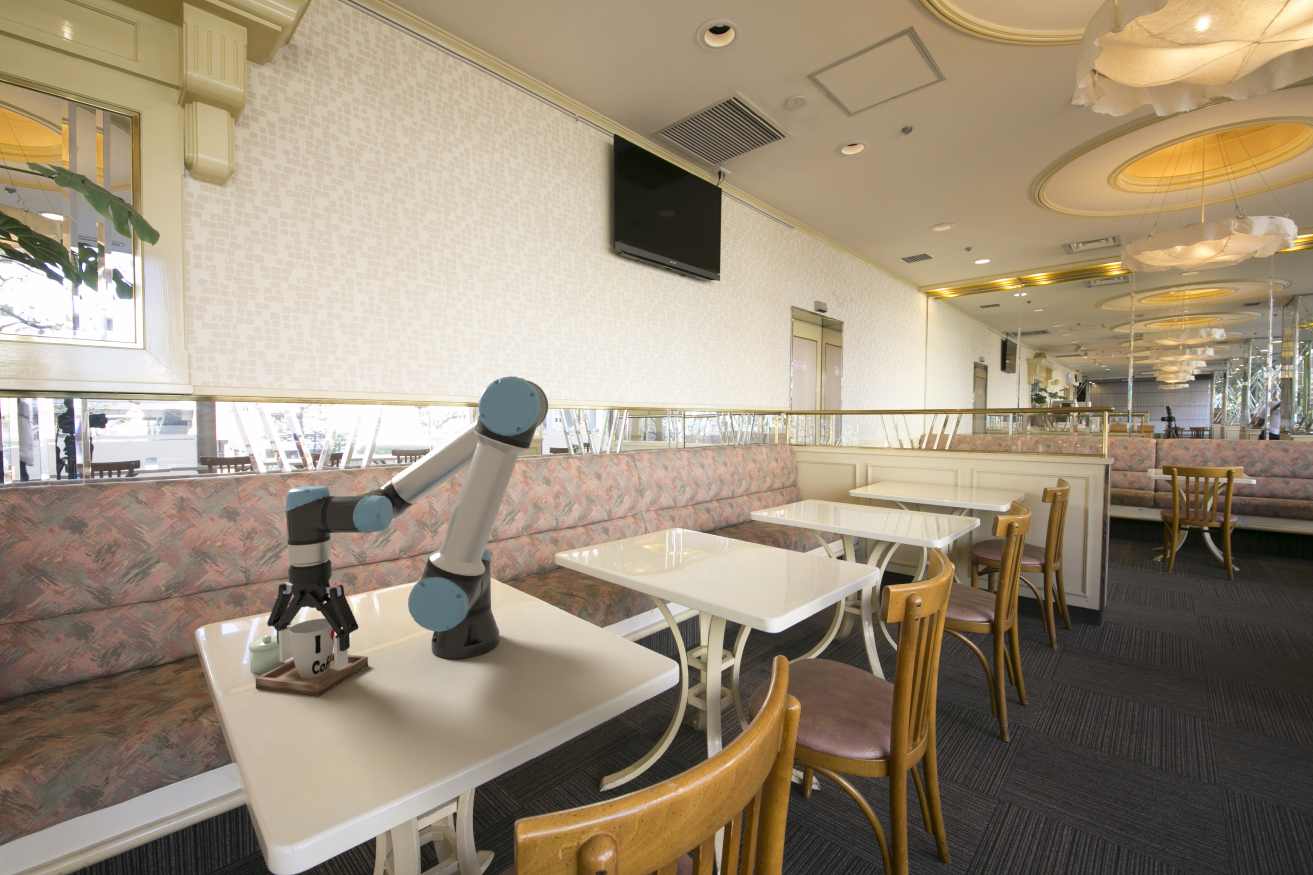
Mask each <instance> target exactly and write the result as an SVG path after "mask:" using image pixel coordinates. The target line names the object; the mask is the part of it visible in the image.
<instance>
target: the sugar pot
mask: <svg viewBox="0 0 1313 875" xmlns="http://www.w3.org/2000/svg"><path fill="white" fill-rule="evenodd" d="M248 650H249V659H250V660H249V661H250V672H251V673H252V674H257V675H259V674H260V675H262V674H265V673H267V672H269V671H271V670H273V669H275V668H277V667H279V666H281V665H283V664H285V663H286V661H284V662H280V657H279V644H278V643H277V635H270V634H269V635H268V634H267V635H264V636H263V637H261V638H257V639H255V640H253V641H251V642H250V643H249V644H248Z"/></svg>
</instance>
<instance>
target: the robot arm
mask: <svg viewBox="0 0 1313 875" xmlns="http://www.w3.org/2000/svg"><path fill="white" fill-rule="evenodd" d="M548 400H549V399H548V397H547V394H546V393H545V391H544V390H543V389H542V387H540V386H539V385H538V384H537V383H535V382H533V381H531V380H526V379H525V378H523V377H518V376H505V377H500V378H498V379H495V380H494V381H492V382H490V383H489V384H488V385H487V386H485V388H484V389H483V391H482V392H481V395H480V396H479V401H478V415H479V416H478V418H477V419H476V420H474V421H473V422H471V423H469V424H468V425H467V426H466V427H464V428H463V429H462V430H460V431H458V432H457V433H456V434H455V435H453V436H451V437H450V438H448V439H446V441H444V442H442V443H441V444H440V445H438V446H437V447H435V448H434V449H433V450H431V451H430V452H428V453H427V454H426V455H424V456H422V457H421V458H420V459H418V460H416V462H414V463H413V464H411V465H410V466H409V467H407V468H406V469H404V470H403V471H401V472H399V473H398V474H397V475H395V476H394V477H392V478H391V479H390V480H388V481H386V482H385V483H384V484H382V485H381V486H379V487H378V488H376V489H374V490H370V491H368V492H364V493H361V494H359V495H347V496H344V495H342V496H337V495H336V496H334V495H331V493H330V489H329V487H327V486H325V485H322V486H321V485H310V486H309V485H308V486H297V487H293V488H291V489H289V490H288V491H287V493H286V500H285V501H286V503H285V514H286V515H285V516H286V530H287V531H286V532H287V562H288V563H289V564H290V565H288V567H287V568H288V581H286V582H283V583H281V584H279V585H278V592H277V597H276V600H275V602H274V605H273V607H272V609H271V612H270V614H269V617H268V620H267V622H266V624H267V626H268V627H273V628H274V630H276V636H277V643H278V644H279V657H280V662H284V661H285V662H286V661H287V660H288V661H289V659H291V658H292V659H293V656H292V652H291V645H290V637H289V629H290V628H291V627H292V626H293V625H292V621H293V620H294V619H295V618H296V616H297V614H298V613H299V612H300V611H301V609H302V608H306V607H308V608H311V609H316V611H317V612H321V615H322V616H323V618H326V620H327V621H328V623H329V624H330V625H331V627H332V628H333V630H334V631H335V636H334V647H333V653H334V664H335V668H339V667H341V666H343V665H345V664H346V663H348V655H349V652H348V650H349V649H350V647H351V645H350V636H351V635H350V634H351V633H353V632H355V631H357V630H358V629H359V624H358V622H357V620H356V618H355V616H354V614H353V611H352V609H351V607H350V605H349V603H348V599H347V597H346V595H345V589H344V588H345V587H344V585H343V584H338V585H336V586H331V585H330V580H331V578H332V575H333V573H332V572H333V571H332V570H333V569H332V560H330V558H331V557H332V548H331V547H332V546H331V534H339V533H341V534H342V533H343V534H345V533H347V534H348V533H352V534H354V533H360V534H361V533H362V534H363V533H365V534H371V533H377V532H378V533H379V532H380V533H381V532H383V531H386V530H388V528H389V526H390V525H391V524H392V521H393V520H394V519H396V518H398V517H399V516H401V515H403V514H404V513H405V512H406V511H407V509H408V508H410V507H412V506H413V505H414V504H416V503H417V502H419V501H420V500H421V499H423V498H425V496H427V495H429V494H430V493H431V492H433V491H434V490H435V489H437V488H438V487H440V486H442V485H443V484H444V483H446V482H447V481H449V480H450V479H452V478H453V477H454V476H456V475H457V474H459V473H460V472H461V471H463V470H464V469H466V468H467V467H469V468H468V469H467V472H466V475H465V478H464V481H463V484H462V487H461V488H460V493H459V494H458V498H457V499H456V500H457V501H456V503H455V507H454V509H453V511H452V514H451V517H450V521H449V523H448V526H447V528H446V531H445V534H444V536H443V541H442V542H441V545H440V547H439V549H436V550H435V551H433V552H431V553H430V554H429V556H428V559H427V561H426V564H425V566H424V570H423V572H422V575H421V577H420V580H418V581H417V583H416V584H414V585H413V588H412V587H411V588H412V589H411V591H410V593H409V594H408V599H407V607H408V611H409V615H411V617H412V618H413V620H414V622H415V623H416V624H417V625H419V627H421V628H424V629H425V630H428V631H431V632H433V634H432V638H431V653H433V655H435V656H437V657H440V658H443V659H450V660H451V659H456V660H457V659H466V658H472V657H476V656H479V655H483V654H485V653H488V652H490V651H492V650H493V649H495V648H496V647H497V646H498V645H499V643H500V630H499V628H498V624H497V622H496V619H495V616H494V614H493V610H492V585H491V584H492V582H491V580H492V578H491V576H492V574H491V563H492V560H491V555H490V553H491V552H490V550H489V549H488V548H487V544H488V541H489V539H490V536H491V533H492V530H493V527H494V525H495V523H496V520H497V519H496V518H497V517H498V513H499V511H500V508H501V505H502V503H503V499H504V498H505V495H506V491H507V490H508V486H509V484H510V480H511V478H512V475H513V472H514V470H515V466H516V463H517V461H518V459H519V456H520V455H521V454H522V453H524V452H527V451H528V450H530V447H531V444H532V441H533V439H534V435H535V433H536V430H537V428H538V427H540V426H541V425H542V424H543V422H544V421H545V419H546V418H547V414H548V411H549V401H548ZM292 596H293V597H292ZM290 625H292V626H290Z"/></svg>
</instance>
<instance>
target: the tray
mask: <svg viewBox="0 0 1313 875" xmlns="http://www.w3.org/2000/svg"><path fill="white" fill-rule="evenodd" d="M368 666H369V656H365V655H364V656H363V655H355V654H348V663H346V664H345V665H343V666H341V667H339V668H335V664H334V652H333V654H332V659H331V663H330V666H329V669H328V671H327V672H326V673H325V674H323V675H321V676H318V677H315V678H308V679H305V678H301V677H300V676H299V673H298V671H297V669H296V667H295V664H294V660H293V658H292V659H291V660H288V661H287V662H286V661H285V664H283V665H281V666H279V667H277V668H275V669H273V670H271V671H269V672H267V673H262V674H260V675H259V676H257V677H256V678H255V688H256V689H260V690H261V689H262V690H267V691H277V692H285V693H291V694H299V695H306V696H313V697H314V696H315V697H320V696H321V695H324V694H325V693H326V692H328V691H330V690H332V689H333V688H335V687H336V686H338V685H340V684H341V683H343V682H344V681H346V680H347V679H349V678H351V677H352V676H354V675H356V674H357V673H359V672H361V671H362V670H364V669H365V668H367V667H368Z"/></svg>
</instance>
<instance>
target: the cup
mask: <svg viewBox="0 0 1313 875" xmlns="http://www.w3.org/2000/svg"><path fill="white" fill-rule="evenodd" d="M334 636H336V632H335V631H334V630H333V628H332V627H331V625H330V624H329V623H328V621H327V620H326V618H325V617H323V618H315V619H314V618H313V619H308V620H305V621H301V622H299V623H296V624H294V625H292V627H291V628H290V629H289V637H290V645H291V652H292V656H293V657H292V659H293V660H294V664H295V667H296V669H297V671H298V673H299V676H300V677H301V678H305V679H308V678H315V677H318V676H321V675H323V674H325V673H326V672H327V671H328V669H329V666H330V663H331V659H332V654H333V653H334Z"/></svg>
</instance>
